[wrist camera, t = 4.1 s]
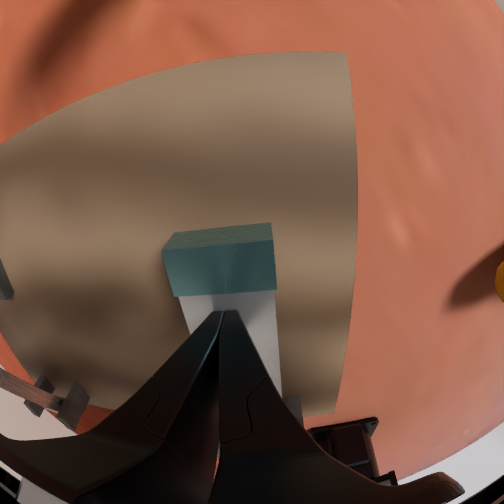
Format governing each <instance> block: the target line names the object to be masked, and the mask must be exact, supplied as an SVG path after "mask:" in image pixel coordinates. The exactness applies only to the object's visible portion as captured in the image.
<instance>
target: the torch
mask: <svg viewBox="0 0 504 504" xmlns="http://www.w3.org/2000/svg"><path fill="white" fill-rule="evenodd" d="M495 287H496V291H497V293H498V295H499V297H500V298H501V300H502V301H503V302H504V261H503V262H502V263H501V264H500V265H499V267H498V268H497V272H496V278H495Z"/></svg>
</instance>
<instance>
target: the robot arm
mask: <svg viewBox="0 0 504 504" xmlns="http://www.w3.org/2000/svg"><path fill="white" fill-rule="evenodd" d="M378 423H379V421H378V418H371V419H366V420H362V421H357V422H352V423H347V424H342V425H336V426H330V427H324V428H317V429H312V430H310V431H309V433H308V432H307V431H306V430H305V428H304V427H303V426H302V424H301V423H300V422H299V421H298V419H297V418H296V417H295V416H294V414H293V413H292V412H291V410H290V409H289V408H288V406H287V405H286V403H285V402H284V400H283V399H282V397H281V396H280V394H279V392H278V390H277V389H276V387H275V385H274V383H273V381H272V379H271V377H270V376H269V373H268V371H267V369H266V367H265V365H264V363H263V361H262V359H261V357H260V355H259V353H258V351H257V349H256V347H255V345H254V343H253V341H252V339H251V337H250V335H249V332H248V330H247V328H246V326H245V324H244V322H243V320H242V318H241V316H240V313H239V311H238V310H227V311H213V312H211V313H210V314H209V315H208V316H207V318H206V319H205V320H204V321H203V322H202V323H201V324H200V325H199V326H198V327H197V328H196V329H195V330H194V332H193V333H192V334H191V335H190V336H189V337H188V338H187V339H186V340H185V341H184V342H183V343H182V344H181V345H180V347H179V348H178V349H177V350H176V351H175V352H174V353H173V354H172V355H171V356H170V357H169V358H168V359H167V360H166V361H165V363H164V364H163V365H162V366H161V367H160V368H159V369H158V370H157V371H156V372H155V373H154V374H153V377H150V378H149V379H148V380H147V381H146V383H145V384H144V385H143V386H142V387H141V388H140V389H139V390H138V391H137V392H136V393H135V394H133V395H132V396H131V397H130V398H129V399H128V400H127V401H126V402H124V403H123V404H122V405H121V406H120V407H119V408H117V409H116V410H115V411H114V412H113V413H111V414H110V415H109V416H108V417H106V418H105V419H104V420H103V421H102V422H100V423H99V424H98V425H97V426H95V427H94V428H93V429H91V430H89V431H88V432H85V433H83V434H80V435H76V436H70V437H62V438H54V439H43V440H28V441H19V440H13V439H9V438H7V437H5V436H3V435H2V434H1V433H0V461H2V462H3V463H4V464H6V465H7V466H8V467H10V468H11V469H12V470H14V471H15V472H17V473H18V474H20V475H21V476H22V479H21V481H20V480H18V479H17V478H16V477H14V476H13V475H11V474H10V473H9V472H7V471H6V470H4V469H3V468H1V467H0V504H446V503H448V502H450V501H451V500H453V499H455V498H457V497H459V496H461V495H462V494H464V493H465V490H464V489H463V487H462V486H461V485H460V484H459V483H458V482H457V481H455V480H454V479H452V478H451V477H449V476H448V475H446V474H445V473H443V472H437V473H433V474H430V475H427V476H425V477H422V478H420V479H417V480H414V481H412V482H409V483H406V484H403V485H398V483H397V479H396V475H395V472H394V470H393V471H391V472H388V474H385V475H382V476H380V475H379V470H378V466H377V462H376V458H375V453H374V449H373V445H372V442H371V436H372V434H373V432H374V430H375V429H376V427H377V425H378ZM219 441H220V457H219V465H218V468H217V472H216V476H215V479H214V474H215V467H216V460H217V453H218V446H219ZM213 481H214V483H213ZM459 504H504V475H502V476H501V477H500V478H498V479H497V480H496V481H494V482H493V483H491V484H490V485H488V486H487V487H485V488H484V489H482V490H481V491H479V492H478V493H476V494H474V495H473V496H471V497H469V498H468V499H466V500H464V501H463V502H461V503H459Z"/></svg>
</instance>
